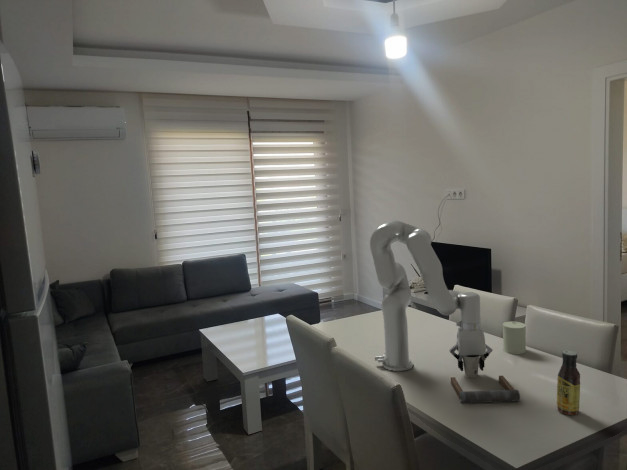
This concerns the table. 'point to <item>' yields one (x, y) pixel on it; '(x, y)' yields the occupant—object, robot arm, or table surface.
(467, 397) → the bay
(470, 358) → the coffee cup
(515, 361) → the table surface
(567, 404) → the sauce bottle
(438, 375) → the table surface
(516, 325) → the can
